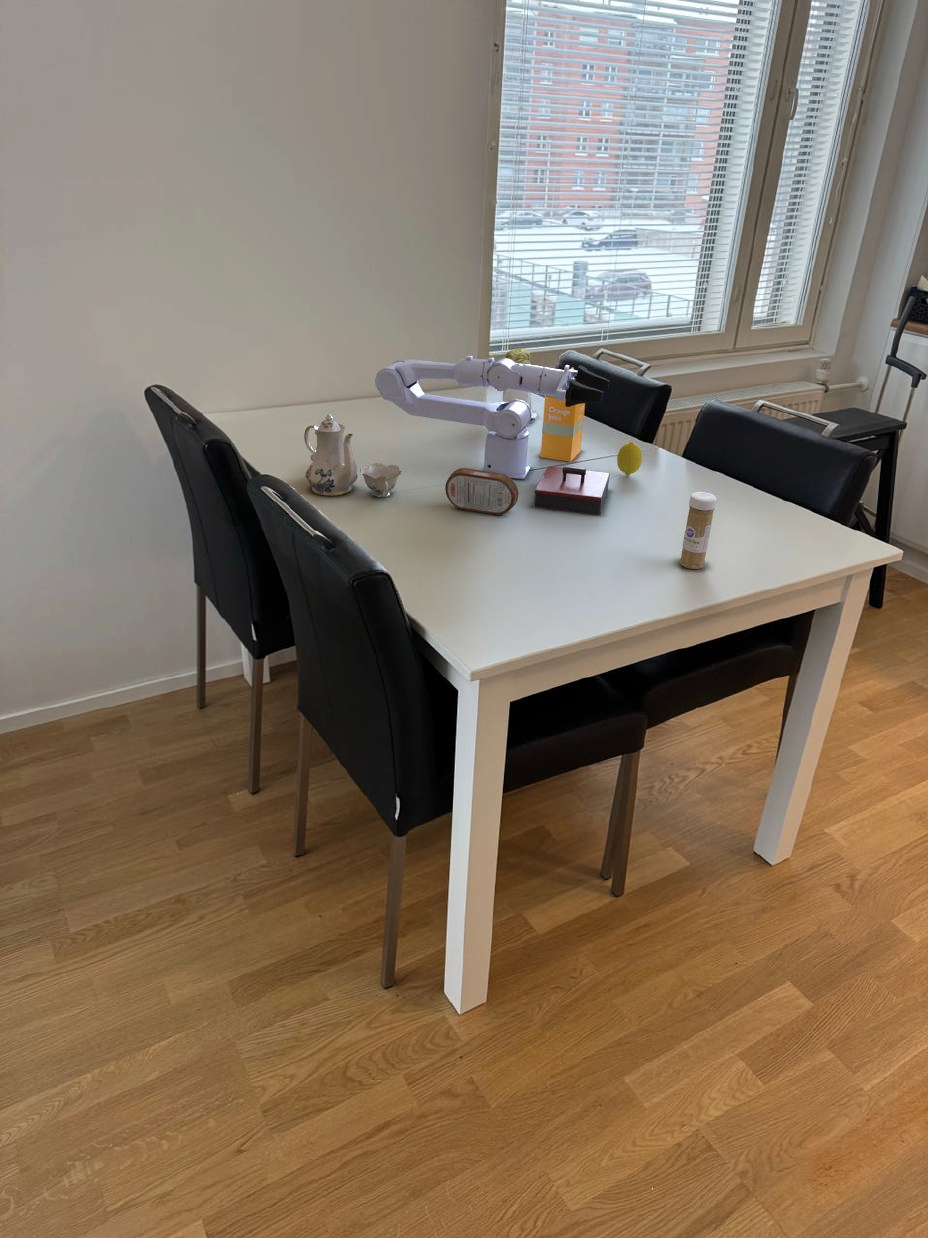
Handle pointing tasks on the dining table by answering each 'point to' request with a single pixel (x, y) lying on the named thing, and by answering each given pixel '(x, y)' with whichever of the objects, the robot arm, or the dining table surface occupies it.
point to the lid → (573, 483)
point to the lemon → (629, 458)
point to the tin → (481, 491)
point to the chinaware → (342, 464)
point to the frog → (511, 394)
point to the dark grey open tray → (570, 503)
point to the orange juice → (561, 429)
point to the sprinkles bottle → (697, 530)
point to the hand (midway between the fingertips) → (605, 391)
